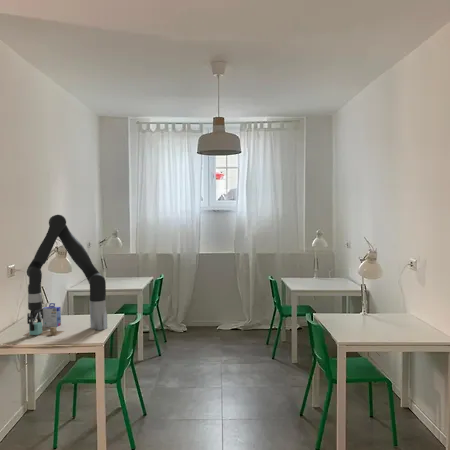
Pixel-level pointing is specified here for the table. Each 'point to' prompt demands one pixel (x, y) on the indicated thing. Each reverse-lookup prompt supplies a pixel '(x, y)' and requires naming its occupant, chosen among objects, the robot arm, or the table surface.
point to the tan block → (53, 331)
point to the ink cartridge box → (51, 316)
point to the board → (44, 333)
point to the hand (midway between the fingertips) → (35, 328)
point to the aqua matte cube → (36, 328)
